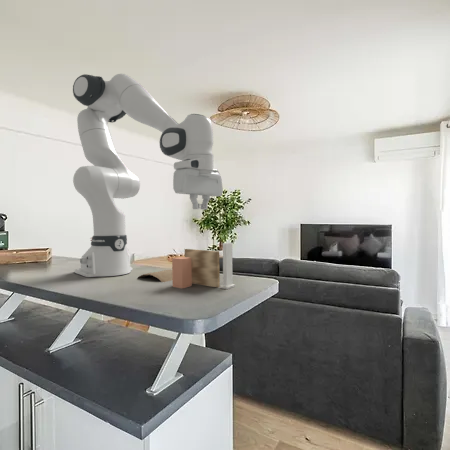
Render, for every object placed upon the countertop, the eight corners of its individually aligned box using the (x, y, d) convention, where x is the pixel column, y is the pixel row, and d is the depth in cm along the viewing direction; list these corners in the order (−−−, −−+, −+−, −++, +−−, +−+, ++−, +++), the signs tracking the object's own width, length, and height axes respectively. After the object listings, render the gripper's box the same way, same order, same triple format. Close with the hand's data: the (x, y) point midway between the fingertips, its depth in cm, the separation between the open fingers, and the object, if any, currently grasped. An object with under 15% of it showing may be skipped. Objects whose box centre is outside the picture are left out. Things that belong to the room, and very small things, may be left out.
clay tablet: (186, 279, 107) (186, 271, 107) (164, 284, 98) (164, 276, 98) (157, 275, 115) (157, 267, 115) (135, 279, 107) (135, 271, 107)
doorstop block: (172, 286, 93) (172, 258, 93) (182, 284, 96) (181, 256, 96) (182, 288, 90) (181, 259, 90) (191, 285, 94) (191, 257, 93)
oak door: (182, 282, 97) (182, 249, 97) (187, 281, 99) (186, 248, 99) (215, 288, 89) (214, 251, 89) (219, 286, 91) (219, 251, 91)
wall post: (220, 288, 90) (220, 243, 90) (228, 285, 94) (228, 242, 93) (227, 289, 89) (226, 243, 89) (235, 286, 92) (234, 242, 92)
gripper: (212, 170, 110) (212, 210, 110) (169, 162, 94) (170, 209, 94) (226, 169, 106) (227, 209, 107) (184, 160, 90) (185, 208, 90)
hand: (200, 209), depth 100 cm, fingers open, 2 cm apart
